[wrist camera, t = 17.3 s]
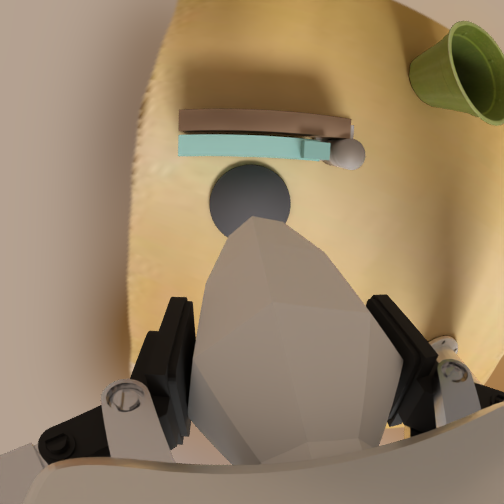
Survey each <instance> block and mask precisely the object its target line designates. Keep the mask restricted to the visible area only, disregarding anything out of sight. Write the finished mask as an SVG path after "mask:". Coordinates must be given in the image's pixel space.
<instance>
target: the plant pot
mask: <svg viewBox="0 0 504 504" xmlns="http://www.w3.org/2000/svg"><path fill="white" fill-rule="evenodd" d="M409 78H410V82H411V85H412V88H413V90H414V91H415V93H416V94H417V96H418V97H419V98H420V99H421V100H422V101H423V102H425V103H427V104H428V105H430V106H433V107H438V108H444V109H450V110H455V111H460V112H465V113H469V114H471V115H473V116H476V117H480V118H481V119H482V120H483V121H485V122H486V123H488V124H491V125H495V126H498V125H502V124H504V54H503V53H502V51H501V49H500V48H499V47H498V45H497V44H496V42H495V41H494V39H493V38H492V37H491V36H490V35H489V34H488V33H487V32H486V31H484V30H483V29H482V28H481V27H479V26H478V25H476V24H474V23H471V22H468V21H461V22H457V23H455V24H454V25H453V26H452V27H451V29H450V31H449V34H447V35H446V36H445V37H444V38H443V40H441V41H440V42H439V43H437V44H436V45H434V46H433V47H431V48H430V49H428V50H427V51H425V52H424V53H423V54H421V55H420V56H418V57H417V58H415V59H414V60H413V61H412V63H411V65H410V73H409Z"/></svg>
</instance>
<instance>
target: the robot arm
mask: <svg viewBox="0 0 504 504" xmlns="http://www.w3.org/2000/svg"><path fill="white" fill-rule="evenodd" d="M366 307H367V309H368V310H369V312H370V313H371V314H372V316H373V317H374V318H375V320H376V321H377V323H378V324H379V326H380V327H381V328H382V330H383V331H384V333H385V334H386V335H387V337H388V338H389V340H390V341H391V343H392V344H393V346H394V347H395V349H396V350H397V352H398V353H399V354H400V356H401V357H402V359H403V366H402V370H401V374H400V378H399V382H398V386H397V390H396V393H395V397H394V401H393V404H392V407H391V411H390V414H389V417H388V420H387V422H388V424H389V427H391V426H395V425H399V424H402V422H403V424H404V425H405V427H404V439H403V440H400V441H397V442H393V443H390V444H386V445H382V446H378V447H374V448H370V449H366V450H362V451H357V452H353V453H348V454H343V455H337V456H331V457H325V458H319V459H312V460H304V461H296V462H286V463H274V464H258V465H200V464H181V463H175V461H174V458H173V456H172V453H171V451H170V450H172V449H173V448H175V447H177V444H181V445H182V444H183V437H184V436H189V434H190V425H191V420H190V419H189V417H188V403H189V392H190V382H191V372H192V362H193V355H194V349H195V343H196V336H195V325H194V313H193V302H192V301H187V298H186V297H171V299H170V301H169V304H168V307H167V309H166V312H165V315H164V318H163V321H162V323H161V326H160V329H159V331H149V332H148V333H147V335H146V338H145V340H144V343H143V345H142V348H141V351H140V353H139V356H138V359H137V361H136V364H135V367H134V369H133V372H132V375H131V377H130V379H122V380H118V381H114V382H113V383H111V384H109V385H108V386H107V387H106V388H105V389H104V390H103V392H102V394H101V405H100V406H98V407H96V408H94V409H92V410H90V411H87V412H85V413H83V414H81V415H79V416H76V417H74V418H72V419H70V420H68V421H65V422H63V423H61V424H58V425H56V426H53V427H51V428H49V429H48V430H46V431H45V432H44V433H43V434H42V435H41V437H40V439H39V441H38V444H37V445H33V444H32V443H29V444H27V445H25V446H22V447H20V448H17V449H15V450H12V451H10V452H7V453H5V454H2V455H0V504H504V392H502V391H499V390H495V389H493V388H490V387H487V386H484V385H482V384H481V383H480V382H479V381H478V379H477V378H476V377H475V376H474V374H473V373H472V372H471V371H470V370H469V368H468V367H467V366H466V365H465V364H464V362H463V361H462V360H461V359H460V358H459V357H458V355H457V352H458V344H457V342H456V341H455V340H454V339H453V338H452V337H450V336H441V337H438V338H435V339H433V340H431V341H430V342H428V341H427V340H426V339H425V338H424V337H423V335H422V334H421V333H420V332H419V331H418V329H417V328H416V327H415V326H414V325H413V324H412V322H411V321H410V320H409V319H408V318H407V317H406V316H405V314H404V313H403V312H402V311H401V310H400V309H399V308H398V306H397V305H396V304H395V303H394V302H393V301H392V300H391V299H390V297H389V296H388V295H373V296H372V297H371V299H368V301H367V304H366Z"/></svg>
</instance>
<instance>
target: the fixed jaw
mask: <svg viewBox="0 0 504 504" xmlns="http://www.w3.org/2000/svg"><path fill="white" fill-rule="evenodd" d="M179 131H181V132H185V133H254V134H275V135H291V136H303V137H314V140H321V142H325V143H331V144H330V160H322V161H323V162H324V163H326V164H328V165H332V166H336V167H340V168H345V169H349V170H355V169H357V168H359V167H360V166H361V165H362V164H363V163H364V160H365V150H364V147H363V146H362V144H361V143H360V142H358V141H357V140H354V139H353V135H354V125H351V119H347V118H341V117H334V116H326V115H318V114H309V113H299V112H288V111H274V110H255V109H186V110H179ZM319 160H320V159H319Z"/></svg>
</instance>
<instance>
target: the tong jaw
mask: <svg viewBox="0 0 504 504" xmlns="http://www.w3.org/2000/svg"><path fill="white" fill-rule="evenodd" d="M330 144H331V143H325V142H321V140H312V139H302V138H290V137H276V136H258V135H224V134H199V135H179V142H178V156H242V157H268V158H285V159H300V160H312V161H319V159H320V160H330Z"/></svg>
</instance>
